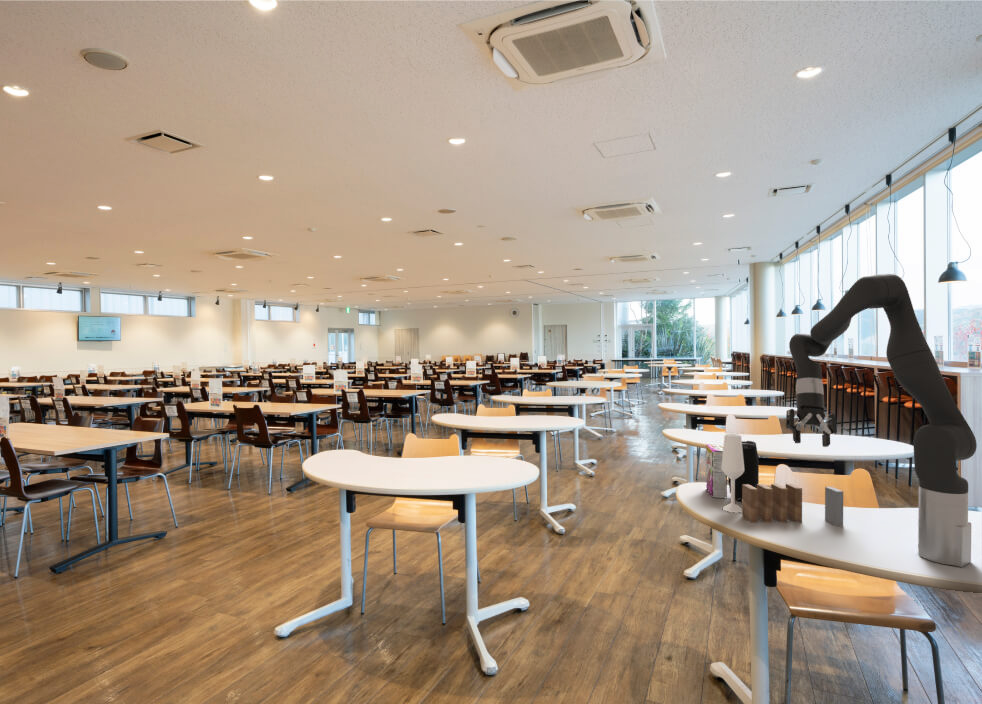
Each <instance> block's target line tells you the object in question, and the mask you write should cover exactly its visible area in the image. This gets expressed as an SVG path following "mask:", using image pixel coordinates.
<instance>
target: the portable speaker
mask: <svg viewBox="0 0 982 704" xmlns="http://www.w3.org/2000/svg"><path fill="white" fill-rule="evenodd" d="M742 450H743V460H744V472H743V474H742V475H741V476H740V477H738V478H737V479H735V500H738V501H739V500H742V484H749V485H751V486H753V487H755V488H757V484H760V482H759V478H760V477H759V474H760V473H759V472H760V471H759V470H760V469H759V467H760V466H759V463H760V461H759V454H758V448H757V443H756V442H755V441H752V440H746V441H742ZM727 481H728V486H729V487H728V488H729V493H730V494H731V479H730V478H728V477H727Z"/></svg>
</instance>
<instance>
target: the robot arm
mask: <svg viewBox="0 0 982 704" xmlns="http://www.w3.org/2000/svg"><path fill="white" fill-rule="evenodd" d="M908 290H909V289H908V287H907V285H906V283H905V282H904V280H903V278H901V277H900V276H899V275H897V274H894V273H885V274H884V273H882V274H870V275H869V274H868V275H864V276H861V278H859V279H858V280H856V281H855V282H854V283H853V284H852V286H851V287H850V288H849V289H848V290H847V292H846V293H845V294H844V296H842V298H841V299H840V300H839V301H838V303H837V304H836V305H835V306H834V308H832V309H831V311H830V312H829V313H828V314H826V315H825V316H824V317H822V319H820V320H819V321H817V322H816V323H815V324H814V325H813V326H812V327H811V329H810V333H809V334H807V333H795V334H794V335H792V336H791V338H790V340H789V345H788V346H789V352H790V355H791V357H792V360H793V363H794V366H795V369H796V370H795V372H796V385H795V397H796V398H795V399H796V401H795V402H796V403H795V404H796V409H794V408H790V409H787V410H786V416H785V417H786V418H785V419H786V422H785V427H786V429H788V430H790V431H792V440H793V442H794V444H801V442H802V440H801V437H802V436H801V435H802V434H801V429H802V428H803V426H810V427H816V428H817V429H818V430H819V431H820V432H821V434H822V435H821V440H822V441H821V443H822V448H823V447H824V448H827V447H829V446H830V445H831V434H836V433H837V431H838V430H837V423H836V415H835V413H831V414H826V413H825V411H824V409H825V399H824V398H825V397H824V396H825V395H824V384H823V374H822V371H823V370H822V365H821V364H820V363H819V362H817V361H814V360H813V359H811V358H810V357H814V358H817V357H821V356H823V355H824V354H826V353H827V351H828V349H829V348H830V346H831V345H832V343H833V341H835V340H836V339H837V338H839V337H840V336H841V335H843V334H844V333H846V331H847V330H848V329H849V327H850V324H851V322H852V319H853V317H854V316H855V315H857V314H860V313H861V312H863V311H865V310H868V309H870V310H871V309H873V310H874V309H883V311H884V312H885V314H886V317H887V319H888V322H889V326H890V327H889V328H890V333H889V336H888V337H889V338H888V341H887V345H886V359H887V361H888V364H889V366H890V369H891V371H892V373H893V376H894V377H895V380H896V381H897V382H898V384H899V385H900V386H901V387H902V388H903V389H904V391H905V392H907V393H908V394H909V395H910V396H911V397H912V399H914V400H915V401H916V402H917V403H918V404H919V405H920V407H921V408H922V410H923V412H924V414H925V416H926V418H927V419H928V422H929V424H926V425H922V426H921V427H919V428H918V429H917V430H916V431H915V434H914V437H913V461H914V462H913V463H914V471H915V475H916V477H917V479H918V518H917V519H918V521H917V522H918V523H917V525H918V533H917V534H918V535H917V536H918V537H917V539H918V540H917V541H918V542H917V543H918V544H917V549H918V550H917V551H918V553H917V554H918V556H920V557H922V558H924V559H926V560H929V561H931V562H935V563H938V564H942V565H943V564H944V565H948V566H949V565H950V566H956V567H958V568H959V567H960V568H963V567H964V566H966V565H967V564H969V563H971V562H972V522H969V482H968V480H967V479H965V477H962V476H960V475H959V474H958V469H957V461H964V460H968V459H970V458H972V457H973V456H974V455H975V454H976V451H977V447H978V446H977V439H976V436H975V435H974V432H973V430H972V429H971V426H970V425H969V423H968V422H967V420H966V418H965V417H964V415H963V414H962V412H961V410H960V409H959V407H958V405H957V404H956V402H955V400H954V398H953V396H952V394H951V392H950V388H949V387H948V385H947V383H946V380H944V377H943V375H942V373H941V370H940V368H939V365H938V363H937V361H936V359H935V356H934V354H933V351H932V350H931V348H930V346H929V343H928V341H927V340H926V338H925V337H926V336H925V335H924V333H923V331H922V328H921V326H920V324H919V321H918V319H917V315H916V313H915V310H914V306H913V303H912V299H911V296H910V293H909V291H908ZM795 417H797V418H798V419H797V420H796V422H795ZM824 420H825V421H824Z"/></svg>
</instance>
